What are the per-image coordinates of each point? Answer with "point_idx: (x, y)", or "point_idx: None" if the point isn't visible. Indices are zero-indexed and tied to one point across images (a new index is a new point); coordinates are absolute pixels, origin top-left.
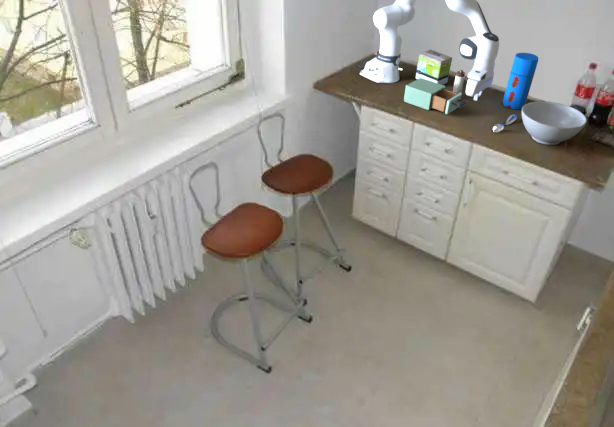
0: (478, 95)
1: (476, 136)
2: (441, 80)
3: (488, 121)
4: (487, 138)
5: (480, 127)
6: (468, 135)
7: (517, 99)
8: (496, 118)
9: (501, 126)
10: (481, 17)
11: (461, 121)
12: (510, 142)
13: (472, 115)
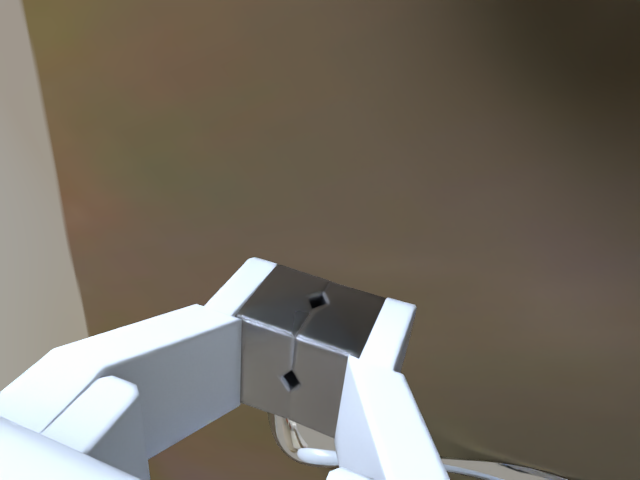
0: (337, 407)
1: (102, 257)
2: None
3: (470, 322)
4: None
5: None
6: (65, 196)
7: None
8: (615, 395)
9: (288, 456)
10: None
11: (267, 33)
12: (204, 460)
13: (559, 111)
